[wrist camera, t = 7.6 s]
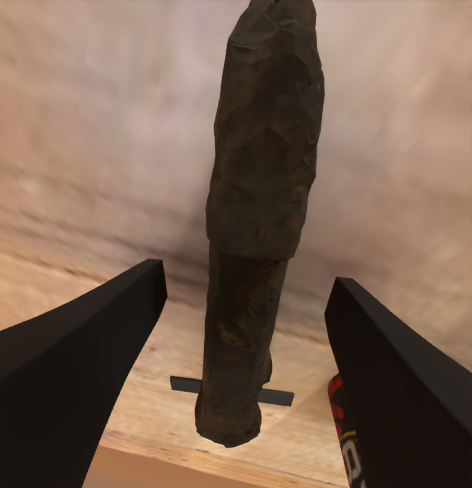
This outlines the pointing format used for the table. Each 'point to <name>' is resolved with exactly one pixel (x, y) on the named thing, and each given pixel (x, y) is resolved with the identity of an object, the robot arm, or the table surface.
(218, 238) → the hand tool
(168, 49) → the table surface
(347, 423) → the deodorant
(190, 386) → the tape line
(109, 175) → the table surface
